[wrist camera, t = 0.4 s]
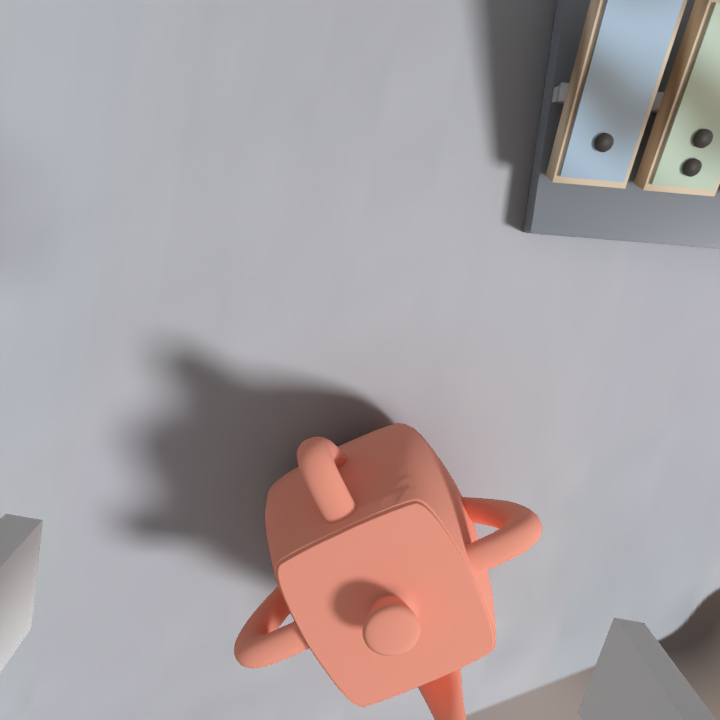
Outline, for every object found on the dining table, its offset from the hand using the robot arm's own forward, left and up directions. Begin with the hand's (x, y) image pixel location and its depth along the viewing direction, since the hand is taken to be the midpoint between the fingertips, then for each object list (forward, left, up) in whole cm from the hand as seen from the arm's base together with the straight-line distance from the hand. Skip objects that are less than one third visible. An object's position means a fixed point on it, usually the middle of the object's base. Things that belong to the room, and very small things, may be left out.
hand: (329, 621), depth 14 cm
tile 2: (-16, +20, -24) cm, 35 cm away
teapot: (+13, +4, -28) cm, 31 cm away
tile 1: (-16, +14, -24) cm, 32 cm away
